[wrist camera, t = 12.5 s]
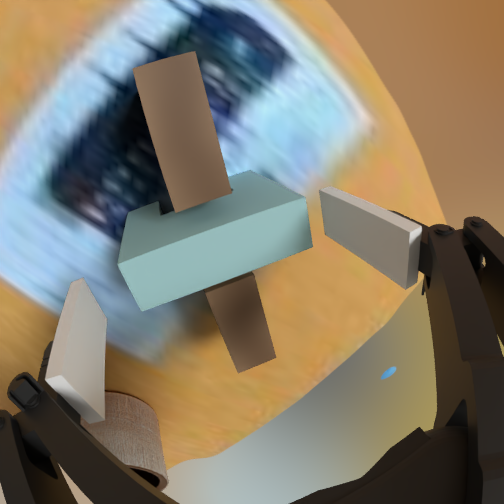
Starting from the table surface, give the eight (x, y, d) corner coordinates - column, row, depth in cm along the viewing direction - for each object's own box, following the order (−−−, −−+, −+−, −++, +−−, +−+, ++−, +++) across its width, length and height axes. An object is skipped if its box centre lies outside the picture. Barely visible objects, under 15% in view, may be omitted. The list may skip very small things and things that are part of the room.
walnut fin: (213, 312, 27) (238, 373, 20) (139, 89, 18) (132, 68, 11) (243, 300, 28) (276, 357, 21) (179, 77, 18) (194, 51, 11)
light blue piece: (141, 246, 22) (141, 311, 15) (127, 212, 21) (117, 264, 13) (258, 204, 24) (313, 247, 17) (250, 170, 23) (305, 197, 15)
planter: (159, 437, 33) (171, 497, 25) (82, 435, 29) (83, 495, 21) (155, 388, 29) (168, 462, 21) (62, 384, 25) (54, 457, 17)
